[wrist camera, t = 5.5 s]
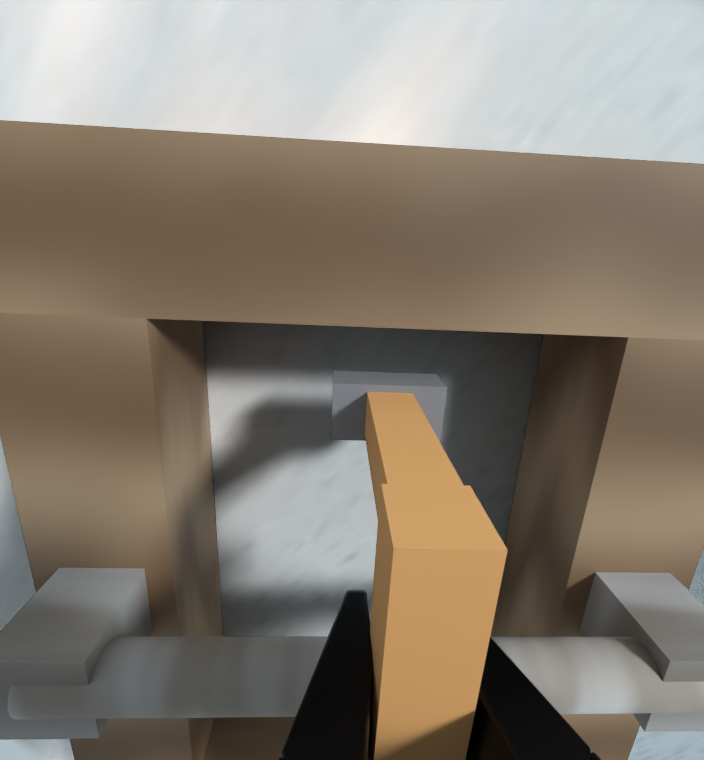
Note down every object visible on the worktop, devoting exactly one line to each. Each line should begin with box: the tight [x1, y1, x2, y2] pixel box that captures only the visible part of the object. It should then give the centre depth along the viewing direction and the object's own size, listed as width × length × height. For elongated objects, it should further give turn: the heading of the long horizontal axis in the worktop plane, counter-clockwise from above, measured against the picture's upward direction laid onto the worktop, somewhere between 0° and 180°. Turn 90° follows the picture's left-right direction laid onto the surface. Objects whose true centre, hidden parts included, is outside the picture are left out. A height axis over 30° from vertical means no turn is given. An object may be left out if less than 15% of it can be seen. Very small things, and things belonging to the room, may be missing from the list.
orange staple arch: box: [331, 371, 508, 760], centre depth 10 cm, size 14×3×7 cm, turn 178°
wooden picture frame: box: [0, 120, 704, 760], centre depth 12 cm, size 25×20×7 cm
